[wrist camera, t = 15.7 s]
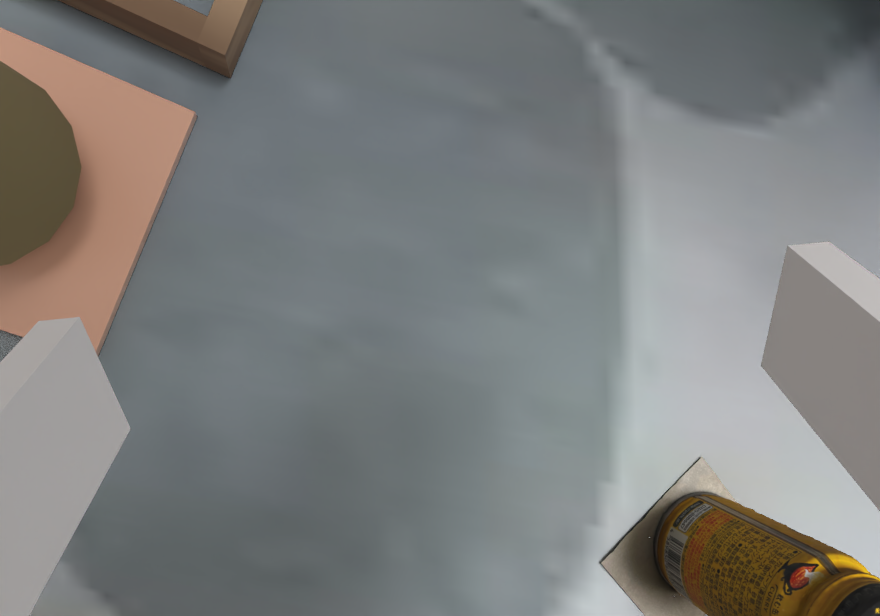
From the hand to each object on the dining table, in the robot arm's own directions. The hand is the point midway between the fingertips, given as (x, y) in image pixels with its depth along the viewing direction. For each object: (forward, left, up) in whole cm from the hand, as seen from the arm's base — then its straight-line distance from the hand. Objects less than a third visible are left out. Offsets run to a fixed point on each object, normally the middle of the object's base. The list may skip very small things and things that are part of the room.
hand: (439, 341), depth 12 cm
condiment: (+6, +23, -20) cm, 31 cm away
